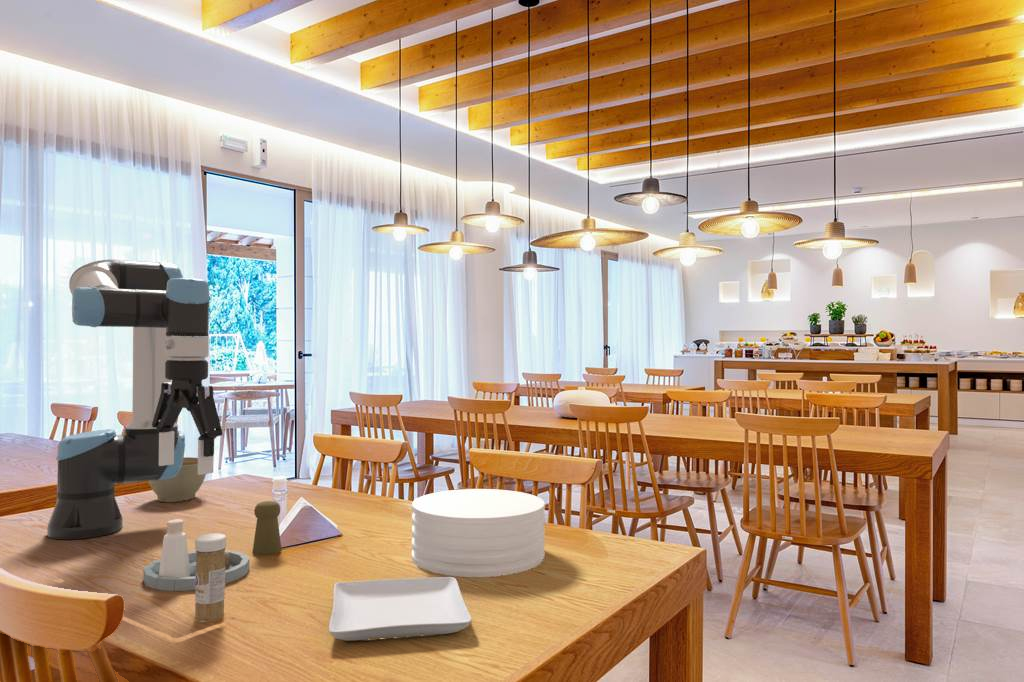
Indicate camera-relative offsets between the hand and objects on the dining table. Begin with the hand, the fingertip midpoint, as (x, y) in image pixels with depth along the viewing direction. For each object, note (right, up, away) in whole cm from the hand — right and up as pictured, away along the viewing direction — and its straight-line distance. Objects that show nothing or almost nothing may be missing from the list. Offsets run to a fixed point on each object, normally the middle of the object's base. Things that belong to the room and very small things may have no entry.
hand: (185, 469), depth 135 cm
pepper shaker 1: (+1, -20, -6) cm, 21 cm away
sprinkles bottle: (+15, -20, -23) cm, 34 cm away
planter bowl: (-33, -21, +66) cm, 76 cm away
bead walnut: (+8, -20, -3) cm, 21 cm away
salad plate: (+45, -21, -21) cm, 54 cm away
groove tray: (+3, -20, -2) cm, 20 cm away
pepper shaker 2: (+11, -21, +13) cm, 27 cm away
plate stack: (+56, -21, +13) cm, 61 cm away
